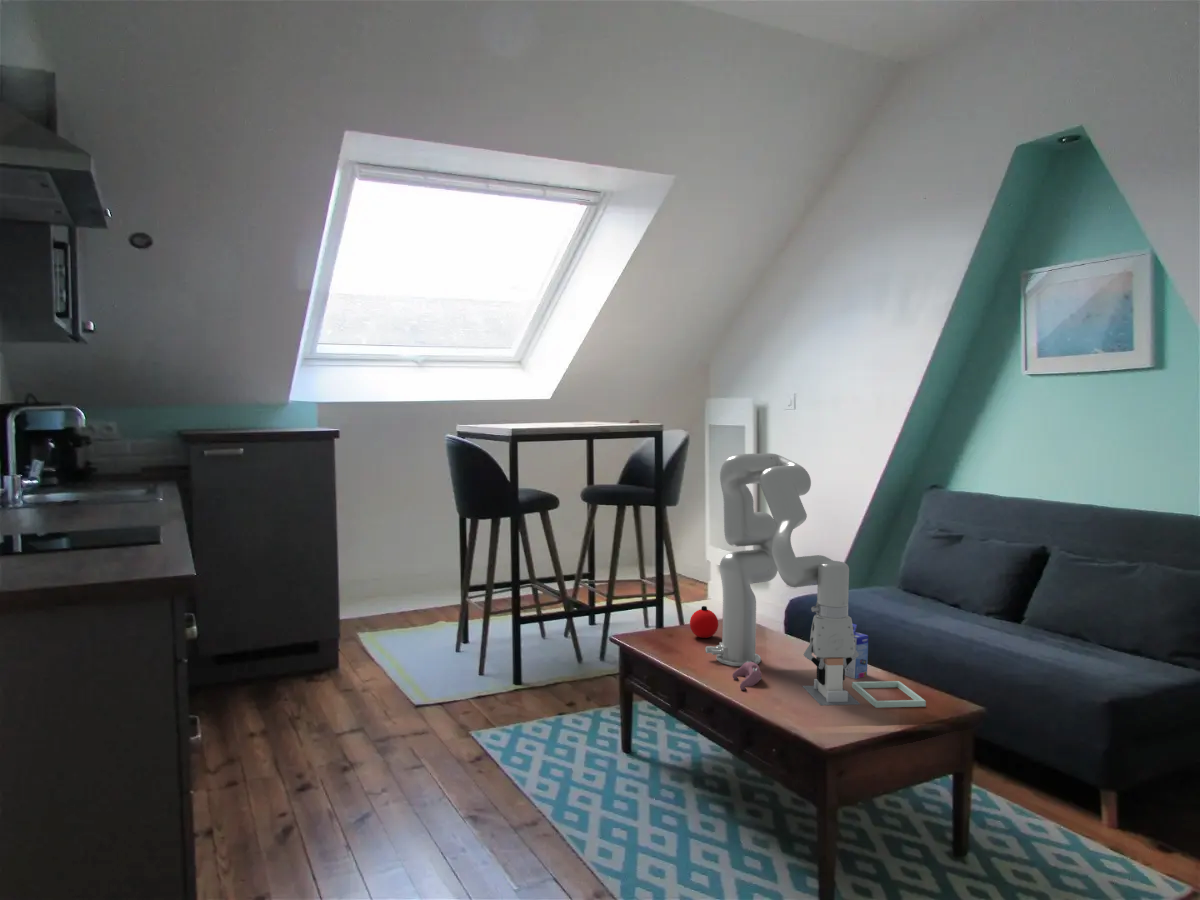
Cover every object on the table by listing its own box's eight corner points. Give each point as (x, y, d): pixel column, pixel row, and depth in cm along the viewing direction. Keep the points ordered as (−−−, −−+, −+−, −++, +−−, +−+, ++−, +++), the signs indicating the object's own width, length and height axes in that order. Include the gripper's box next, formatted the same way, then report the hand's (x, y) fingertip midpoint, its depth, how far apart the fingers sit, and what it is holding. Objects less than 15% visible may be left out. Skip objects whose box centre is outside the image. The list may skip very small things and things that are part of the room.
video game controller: (754, 696, 218) (767, 672, 217) (739, 689, 217) (751, 665, 217) (745, 683, 227) (757, 661, 227) (730, 676, 227) (742, 653, 227)
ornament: (724, 637, 266) (724, 606, 265) (705, 643, 260) (706, 611, 259) (702, 632, 273) (702, 601, 272) (683, 637, 266) (684, 606, 266)
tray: (875, 712, 203) (875, 702, 203) (851, 691, 217) (852, 682, 217) (925, 711, 204) (925, 700, 204) (898, 690, 218) (899, 680, 218)
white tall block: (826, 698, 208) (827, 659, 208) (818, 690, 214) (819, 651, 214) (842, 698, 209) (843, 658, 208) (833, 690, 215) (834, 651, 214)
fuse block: (820, 710, 204) (821, 695, 204) (801, 690, 218) (802, 676, 218) (860, 709, 205) (861, 694, 205) (839, 689, 219) (839, 675, 219)
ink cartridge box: (868, 679, 227) (870, 626, 226) (855, 683, 224) (857, 629, 223) (838, 670, 235) (840, 618, 234) (825, 673, 232) (827, 621, 231)
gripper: (804, 615, 206) (802, 688, 207) (870, 614, 207) (868, 687, 208) (794, 607, 213) (793, 678, 214) (858, 606, 215) (856, 677, 216)
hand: (830, 682), depth 211 cm, fingers closed on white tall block, 4 cm apart
